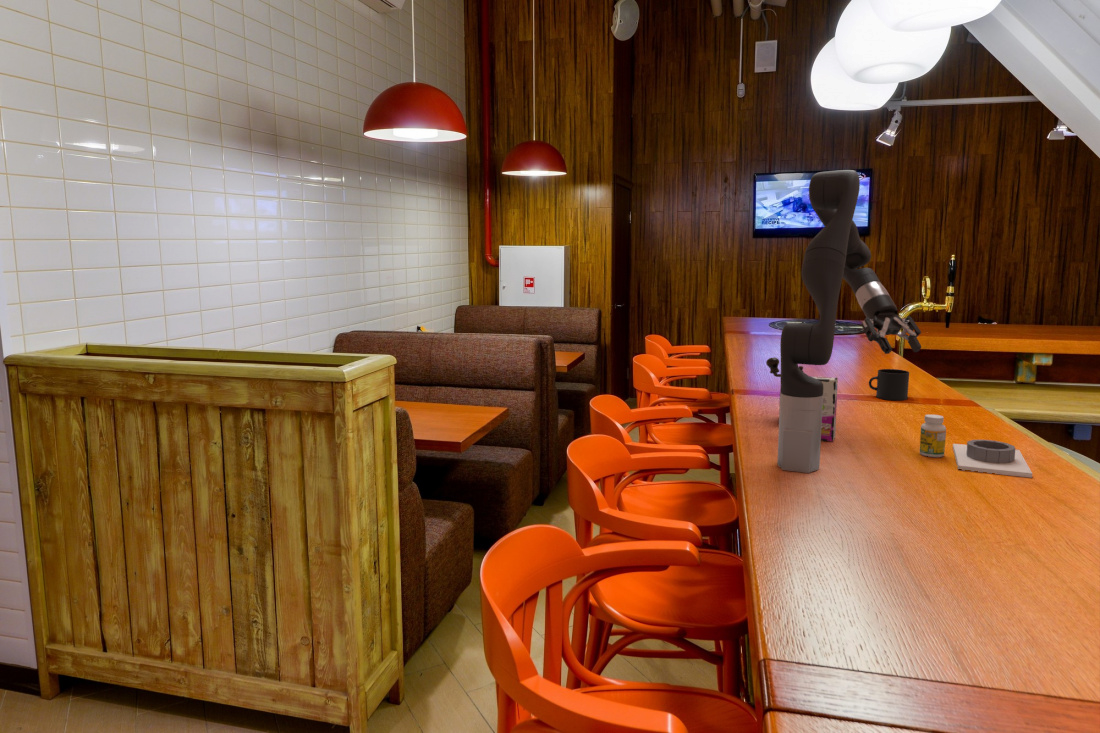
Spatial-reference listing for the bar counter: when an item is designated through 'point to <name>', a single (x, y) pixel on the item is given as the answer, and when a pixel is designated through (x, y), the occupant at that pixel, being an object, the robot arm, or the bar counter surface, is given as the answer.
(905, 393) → the mug
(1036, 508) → the bar counter surface
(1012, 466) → the socket plate
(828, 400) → the candy bar box
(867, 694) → the bar counter surface
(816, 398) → the robot arm
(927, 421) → the supplement bottle
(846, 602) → the bar counter surface
